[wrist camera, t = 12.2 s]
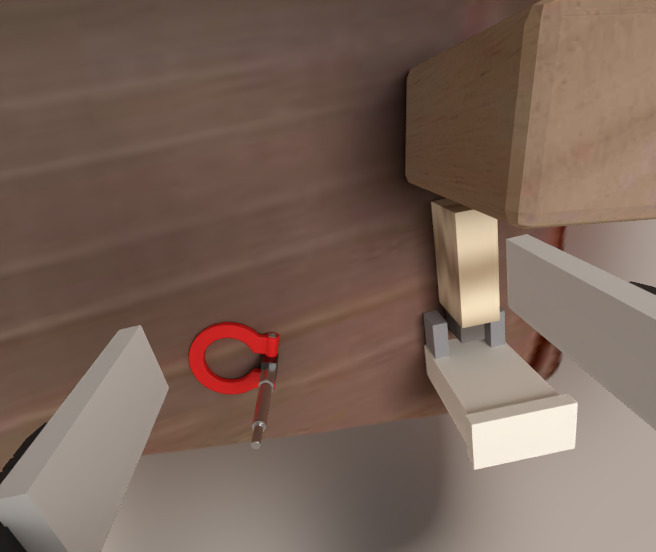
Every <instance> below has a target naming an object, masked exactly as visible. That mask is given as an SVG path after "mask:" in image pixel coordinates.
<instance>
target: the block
mask: <svg viewBox="0 0 656 552" xmlns="http://www.w3.org/2000/svg"><path fill="white" fill-rule="evenodd" d="M405 175H406V178H407V180H408V182H409V183H411V184H414V185H416V186H419V187H421V188H423V189H426V190H428V191H431V192H433V193H435V194H438V195H440V196H443V197H445V198H447V199H450V200H452V201H454V202H457V203H459V204H462V205H464V206H466V207H469V208H471V209H474V210H476V211H478V212H481V213H483V214H486V215H488V216H490V217H493V218H495V219H498V220H500V221H502V222H505V223H507V224H509V225H512V226H515V227H518V228H520V229H529V228H542V227H555V226H569V225H581V224H595V223H608V222H622V221H635V220H648V219H656V0H542V1H540V2H538V3H536V4H534V5H532V6H530V7H528V8H526V9H524V10H522V11H520V12H519V13H517V14H515V15H513V16H511V17H509V18H507V19H505V20H503V21H501V22H499V23H497V24H496V25H494V26H492V27H490V28H488V29H486V30H484V31H482V32H480V33H478V34H476V35H475V36H473V37H471V38H469V39H467V40H465V41H463V42H461V43H459V44H457V45H455V46H454V47H452V48H450V49H448V50H446V51H444V52H442V53H440V54H438V55H436V56H434V57H432V58H431V59H429V60H427V61H425V62H423V63H421V64H419V65H417V66H415V67H413V68H411V69H410V71H409V74H408V77H407V99H406V165H405Z"/></svg>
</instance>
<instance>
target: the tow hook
mask: <svg viewBox="0 0 656 552" xmlns="http://www.w3.org/2000/svg"><path fill="white" fill-rule="evenodd" d="M222 338H234V339H238V340H240V341H242V342H244V343H246V344H247V345H248V346H249V347H250V348H251V350H252V351H253V352H254V353H259V354H263V358H262V363H261V369H253V370H252V371H251V372H250V373H249V374H247V375H246V376H244V377H242V378H239V379H225V378H221V377H219V376H217V375H215V374H214V373H213V372H212V371H211V370H210V369H209V368H208V366H207V364H206V361H205V351H206V348H207V347H208V346H209V345H210V344H211V343H212V342H214V341H216V340H218V339H222ZM278 344H279V334H277V333H274V332H270V333H267V334H266V335H262V334H258V333H257V332H256V331H255V330H253V329H251V328H249V327H248V326H246V325H242V324H239V323H233V322H223V323H218V324H214V325H211V326H209V327H207V328H205V329H204V330H203V331H202V332H201V333H199V334H198V335H197V337H196V338H195V340H194V342H193V343H192V345H191V348H190V352H189V365H190V367H191V370H192V373H193V374H194V376H195V377H196V378H197V380H198V381H199V382H200V383H202V384H203V385H204V386H205V387H207V388H209V389H211V390H213V391H215V392H219V393H223V394H239V393H244V392H247V391H249V390H251V389H253V388H258V390H259V393H258V398H257V403H256V408H255V413H254V418H253V423H252V429H253V436H252V442H251V447H252V448H253V449H259V448H260V446H261V441H262V434H263V431H265V429H266V424H267V418H268V411H269V404H270V397H271V392H272V391H273V390H274V388H275V380H276V374H277V364H278Z"/></svg>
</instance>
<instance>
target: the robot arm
mask: <svg viewBox="0 0 656 552" xmlns="http://www.w3.org/2000/svg"><path fill="white" fill-rule="evenodd" d="M506 253H507V286H508V307H509V308H510V309H511V310H512V311H514V312H515V313H516V314H517V315H518V316H520V317H521V318H522V319H523V320H524V321H525V322H527V323H528V324H529V325H530V326H531V327H533V328H534V329H535V330H536V331H537V332H539V333H540V334H541V335H542V336H543V337H545V338H546V339H547V340H548V341H549V342H551V343H552V344H553V345H554V346H555V347H557V348H558V349H559V350H560V351H561V352H563V353H564V354H565V355H566V356H567V357H569V358H570V359H571V360H572V361H573V362H575V363H576V364H577V365H578V366H579V367H581V368H582V369H583V370H584V371H585V372H587V373H588V374H589V375H590V376H591V377H593V378H594V379H595V380H596V381H598V382H599V383H600V384H601V385H602V386H603V387H605V388H606V389H607V390H608V391H609V392H611V393H612V394H613V395H614V396H615V397H617V398H618V399H619V400H620V401H621V402H623V403H624V404H625V405H626V406H627V407H629V408H630V409H631V410H632V411H633V412H635V413H636V414H637V415H638V416H639V417H641V418H642V419H643V420H644V421H645V422H647V423H648V424H649V425H650V426H651V427H653V428H654V429H655V430H656V288H655V287H652V286H648V285H644V284H640V283H636V282H627V281H624V280H622V279H620V278H618V277H616V276H614V275H612V274H610V273H608V272H605V271H603V270H601V269H599V268H597V267H595V266H593V265H591V264H589V263H587V262H584V261H582V260H580V259H578V258H576V257H574V256H572V255H570V254H568V253H565V252H563V251H561V250H559V249H557V248H555V247H553V246H551V245H549V244H546V243H544V242H542V241H540V240H538V239H536V238H534V237H532V236H530V235H527V234H526V235H522V236H517V237H513V238H509V239H506ZM168 389H169V387H168V384H167V382H166V380H165V378H164V375H163V373H162V371H161V369H160V367H159V364H158V362H157V360H156V358H155V355H154V353H153V351H152V349H151V347H150V344H149V342H148V340H147V338H146V335H145V333H144V331H143V329H142V327H141V325H138V326H134V327H129V328H125V329H121V330H118V332H117V333H116V334H115V336H114V337H113V338H112V340H111V341H110V342H109V343H108V345H107V346H106V347H105V349H104V350H103V351H102V353H101V354H100V355H99V357H98V358H97V359H96V360H95V362H94V363H93V364H92V366H91V367H90V368H89V370H88V371H87V372H86V373H85V375H84V376H83V377H82V379H81V380H80V381H79V383H78V384H77V385H76V387H75V388H74V389H73V390H72V392H71V393H70V394H69V396H68V397H67V398H66V400H65V401H64V402H63V403H62V405H61V406H60V407H59V409H58V410H57V411H56V413H55V414H54V415H53V417H52V418H51V419H50V420H49V422H46V423H44V424H43V425H42V426H41V427H40V428H38V429H37V430H36V431H35V432H34V433H33V434H31V435H30V436H29V437H28V438H27V439H26V440H25V441H24V442H23V444H22V445H21V446H20V448H19V449H18V450H17V451H16V453H15V454H14V455H13V456H14V458H11V459H10V460H9V461H8V463H7V464H6V465H5V466H4V468H3V469H2V470H3V472H0V552H101V551H102V548H103V546H104V543H105V541H106V539H107V536H108V534H109V531H110V529H111V527H112V524H113V521H114V519H115V517H116V514H117V512H118V510H119V507H120V505H121V502H122V500H123V498H124V495H125V493H126V490H127V488H128V486H129V483H130V481H131V478H132V476H133V474H134V471H135V469H136V466H137V464H138V462H139V459H140V457H141V454H142V452H143V450H144V447H145V445H146V442H147V440H148V438H149V435H150V433H151V430H152V428H153V426H154V423H155V421H156V418H157V416H158V414H159V411H160V409H161V406H162V404H163V402H164V399H165V397H166V394H167V392H168Z"/></svg>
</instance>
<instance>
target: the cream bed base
mask: <svg viewBox="0 0 656 552" xmlns="http://www.w3.org/2000/svg"><path fill="white" fill-rule="evenodd" d="M499 308H500V307H499ZM423 316H424V326H425V336H426V345H424V348H425V358H426V368H427V375H428V377H429V379H430V381H431V382H432V384H433V386H434V388H435V389H436V391H437V393H438V395H439V396H440V398H441V400H442V402H443V403H444V405H445V407H446V409H447V410H448V412H449V414H450V416H451V417H452V419H453V421H454V423H455V424H456V426H457V428H458V429H459V431H460V433H461V435H462V437H463V439H464V440H465V442H466V444H467V447H468V459H469V461H470V463H471V465H472V467H473V468H474V470H475V469H480V468H484V467H489V466H494V465H499V464H503V463H508V462H513V461H517V460H522V459H527V458H531V457H536V456H541V455H546V454H550V453H555V452H559V451H564V450H569V449H574V448H575V439H576V422H577V406H578V403H577V402H576V401H575V400H574V399H573V398H572V397H571V396H570V395H569V394H568V393H567V394H563V395H559V394H558V393H557V392H556V391H555V390H554V389H553V388H552V387H551V386H550V385H549V384H548V383H547V382H546V381H545V380H544V379H543V378H542V377H541V376H540V375H539V374H538V373H537V372H536V371H534V370H533V369H532V368H531V367H530V366H529V365H528V364H527V363H526V362H525V361H524V360H523V359H522V358H521V357H520V356H519V355H518V354H517V353H516V352H515V351H514V350H513V349H512V348H511V347H510V346H509V345H508V344H507V343H506V342H505V311H504V310H503V309H502V308H500V321H495V322H490V323H485V324H484V332H485V339H482V340H477V341H473V342H468V343H463V344H462V343H461V342H460V341H459V340H458V339H457V338H456V339H451V340H448V328H447V322H446V321H445V320H444V318H443V317H442V316H441V315H440V313H439V312H438V311H437V310H435V311H430V312H425V313H423Z"/></svg>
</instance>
